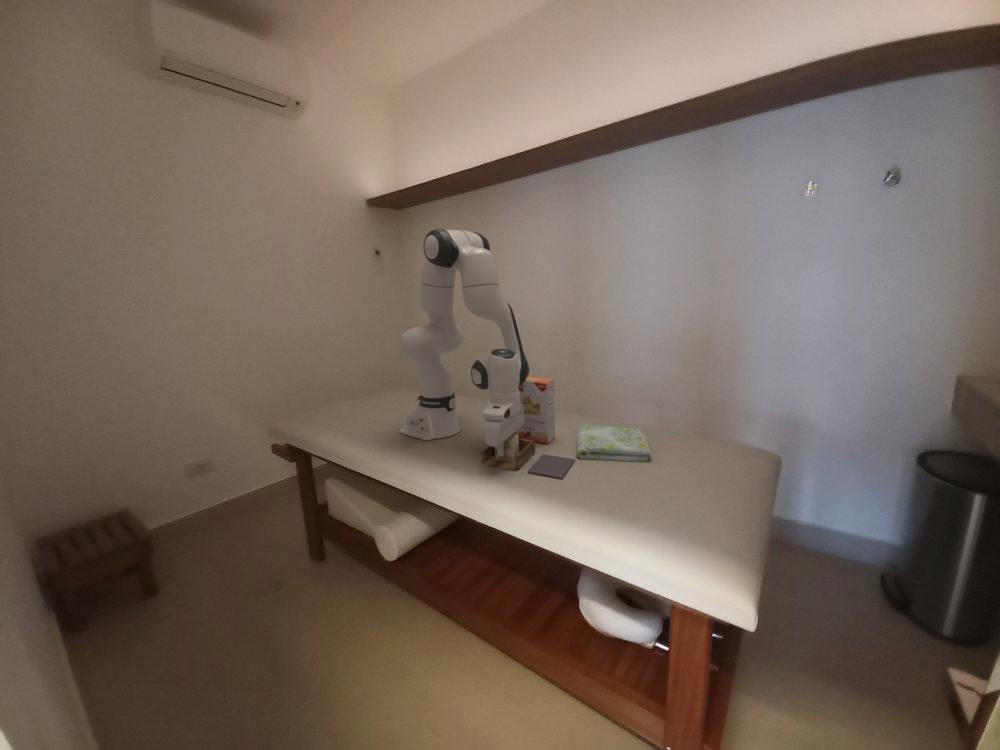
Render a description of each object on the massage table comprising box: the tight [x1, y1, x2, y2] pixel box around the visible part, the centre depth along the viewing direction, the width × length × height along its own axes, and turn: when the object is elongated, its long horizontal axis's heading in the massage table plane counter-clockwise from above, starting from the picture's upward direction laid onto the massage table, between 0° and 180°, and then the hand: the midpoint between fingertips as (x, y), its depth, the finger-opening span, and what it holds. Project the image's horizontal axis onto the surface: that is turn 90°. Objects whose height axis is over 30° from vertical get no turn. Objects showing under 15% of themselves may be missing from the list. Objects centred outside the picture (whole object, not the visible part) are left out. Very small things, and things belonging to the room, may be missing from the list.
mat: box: [527, 454, 576, 480], centre depth 113 cm, size 10×12×1 cm
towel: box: [575, 423, 652, 463], centre depth 123 cm, size 18×21×5 cm
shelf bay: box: [481, 438, 536, 472], centre depth 120 cm, size 12×14×4 cm
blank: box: [495, 434, 519, 462], centre depth 118 cm, size 6×4×7 cm, turn 64°
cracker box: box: [518, 376, 556, 445], centre depth 132 cm, size 14×6×21 cm, turn 57°
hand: (507, 449), depth 119 cm, fingers open, 7 cm apart
